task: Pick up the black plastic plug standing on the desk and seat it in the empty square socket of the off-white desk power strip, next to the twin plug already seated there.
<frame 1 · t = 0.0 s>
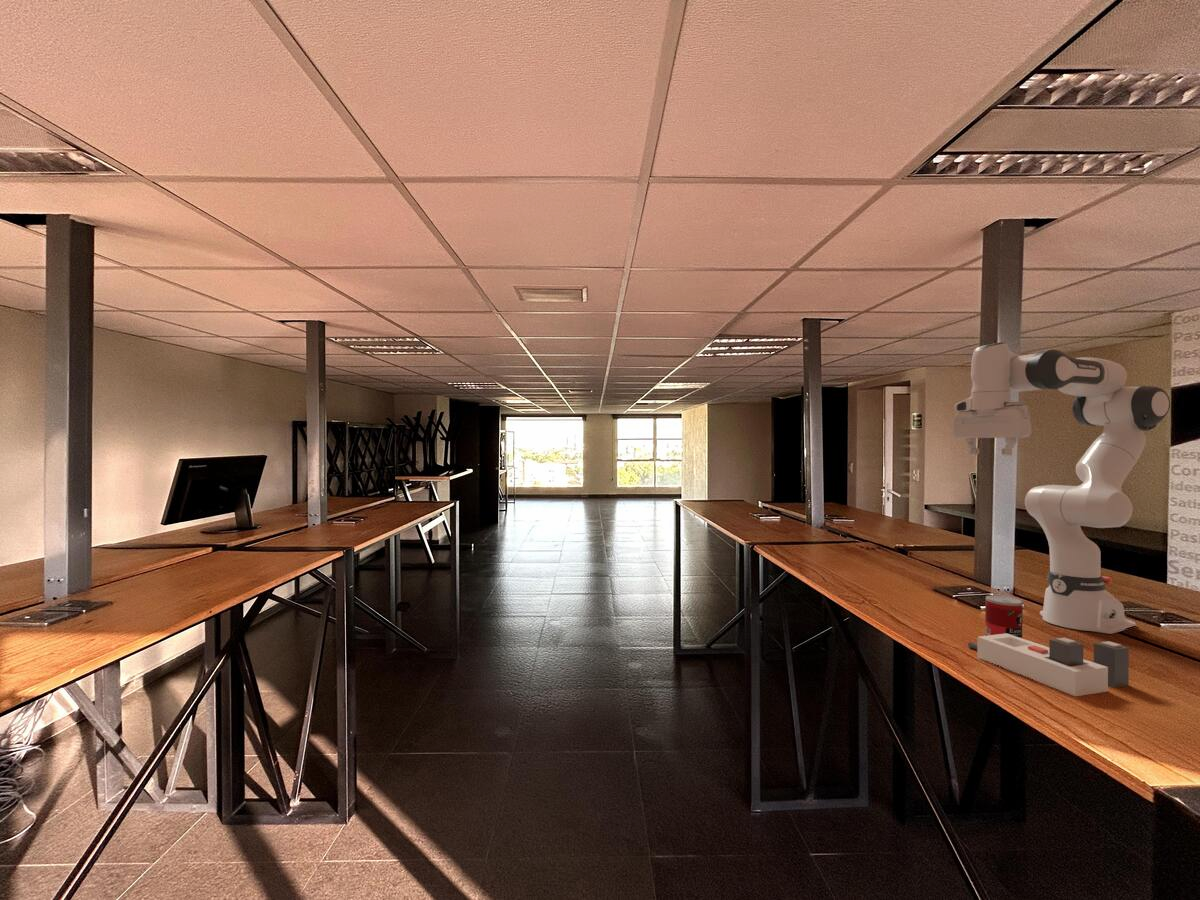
hand: (990, 455, 154), 48 cm above the table, fingers open, 8 cm apart
pdu strip: (1037, 673, 128), on the table
plug: (1110, 682, 123), on the table
canned food: (1003, 642, 148), on the table
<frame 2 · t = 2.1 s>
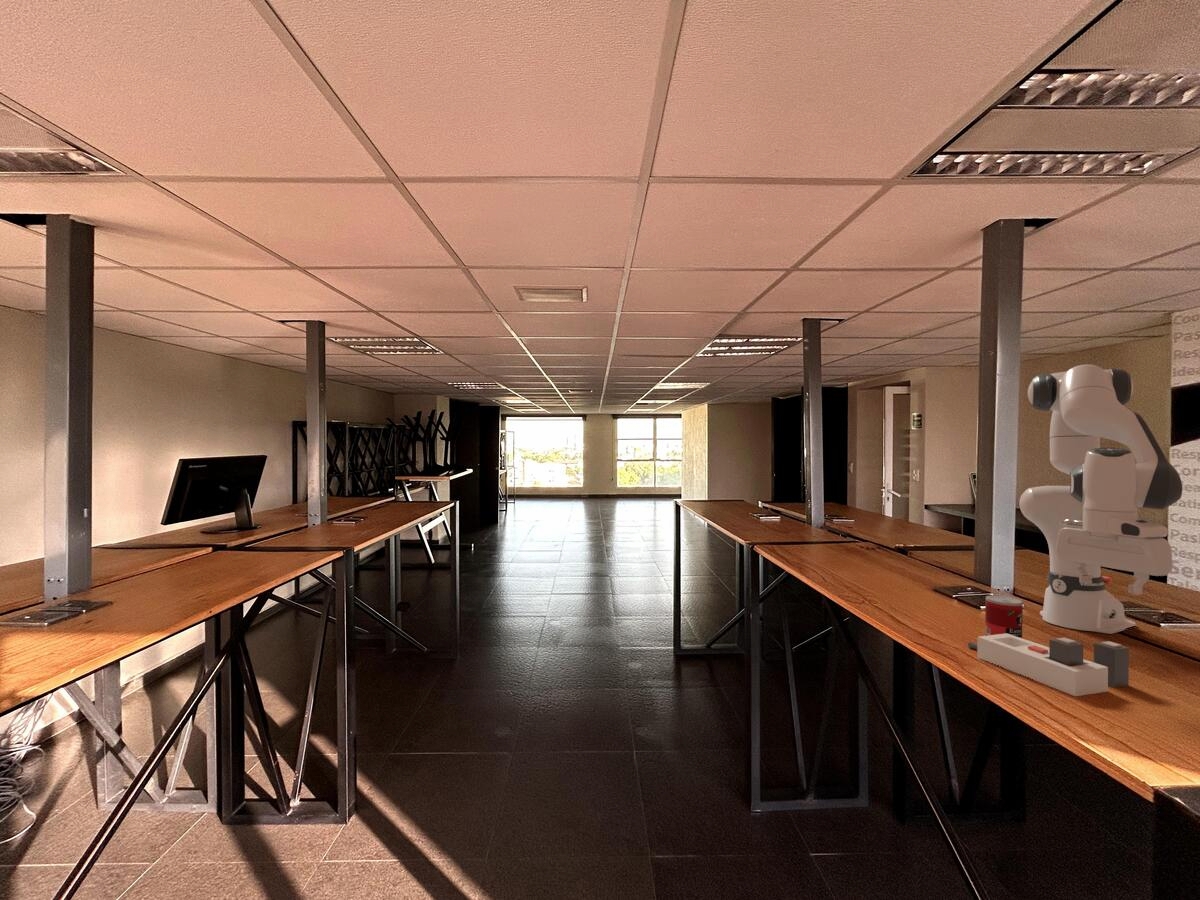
hand: (1109, 588, 123), 20 cm above the table, fingers open, 8 cm apart
nothing on the table moved.
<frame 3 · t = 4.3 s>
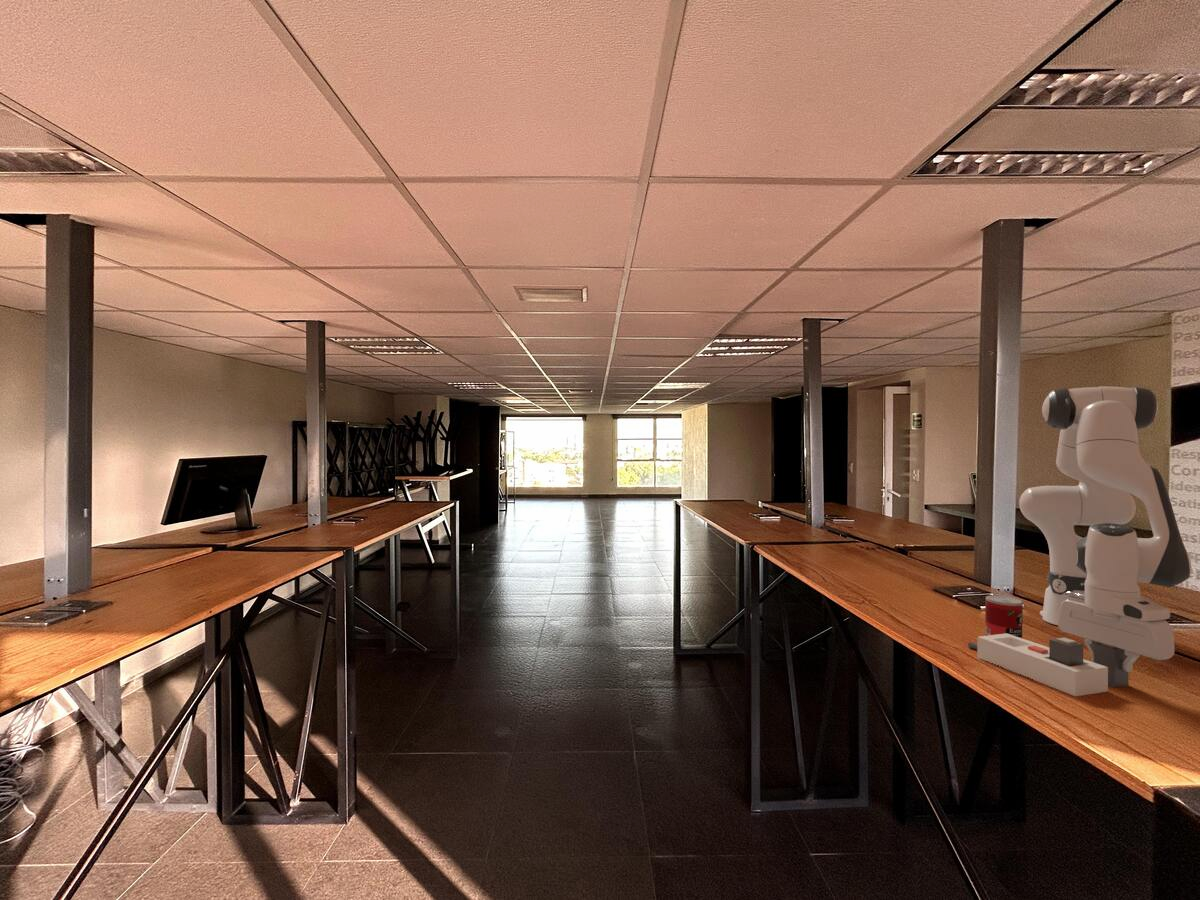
hand: (1111, 665, 123), 4 cm above the table, fingers closed on plug, 4 cm apart
plug: (1110, 682, 123), on the table, touching gripper
everything else where it was.
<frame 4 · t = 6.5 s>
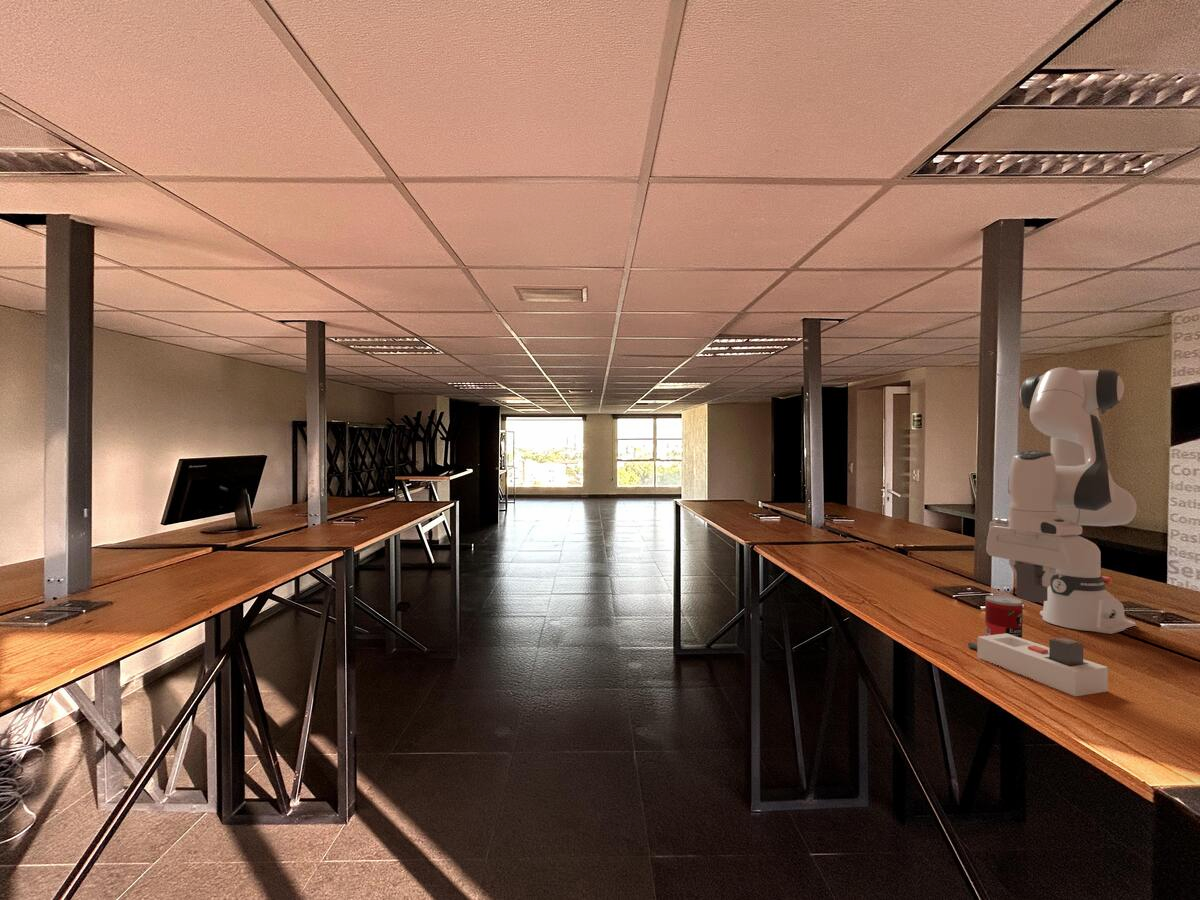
hand: (1031, 583, 131), 19 cm above the table, fingers closed on plug, 4 cm apart
plug: (1031, 599, 131), point 16 cm above the table, touching gripper
everything else where it was.
when the fingers open (6 cm above the table, at t = 9.0 s): plug stays where it is, resting on pdu strip.
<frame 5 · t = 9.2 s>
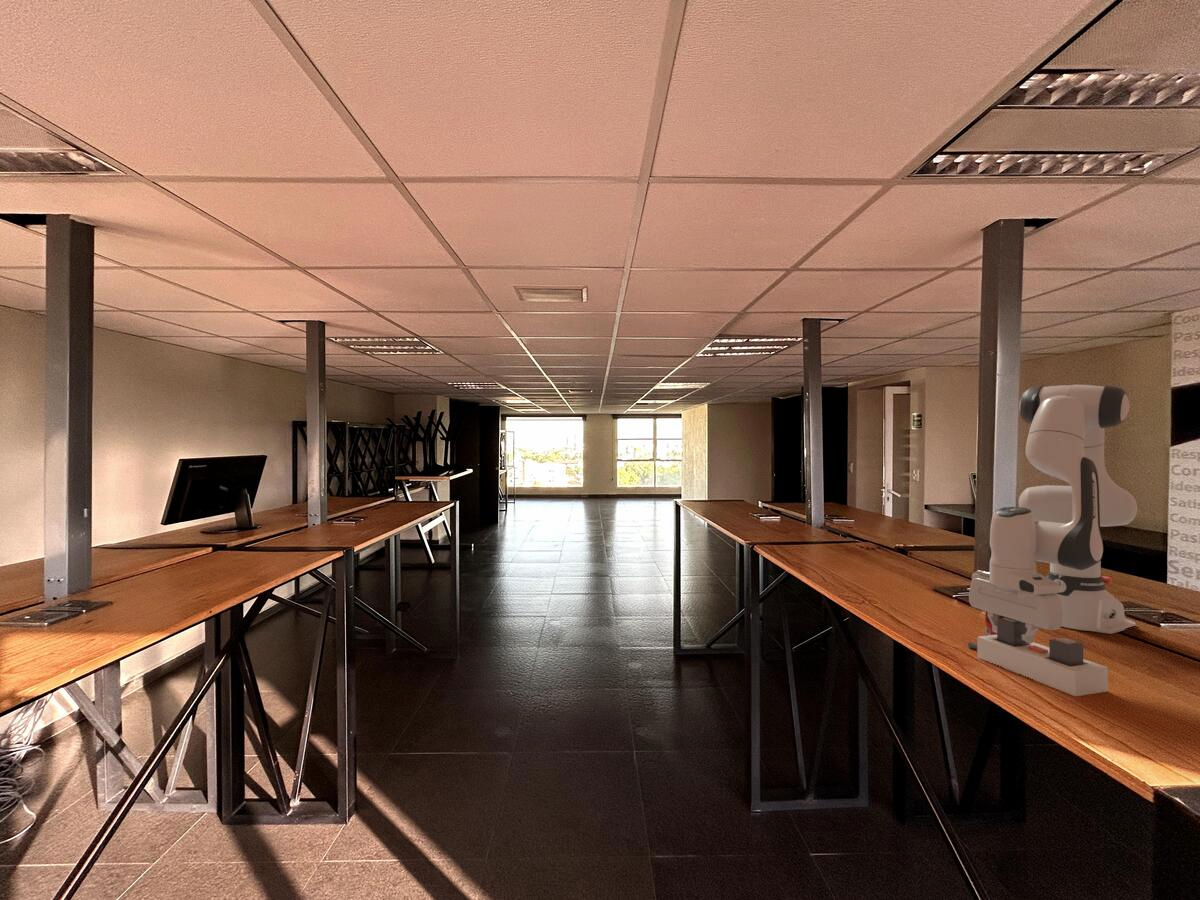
hand: (1012, 637, 133), 6 cm above the table, fingers open, 6 cm apart
plug: (1011, 654, 134), point 2 cm above the table, touching pdu strip
everything else where it was.
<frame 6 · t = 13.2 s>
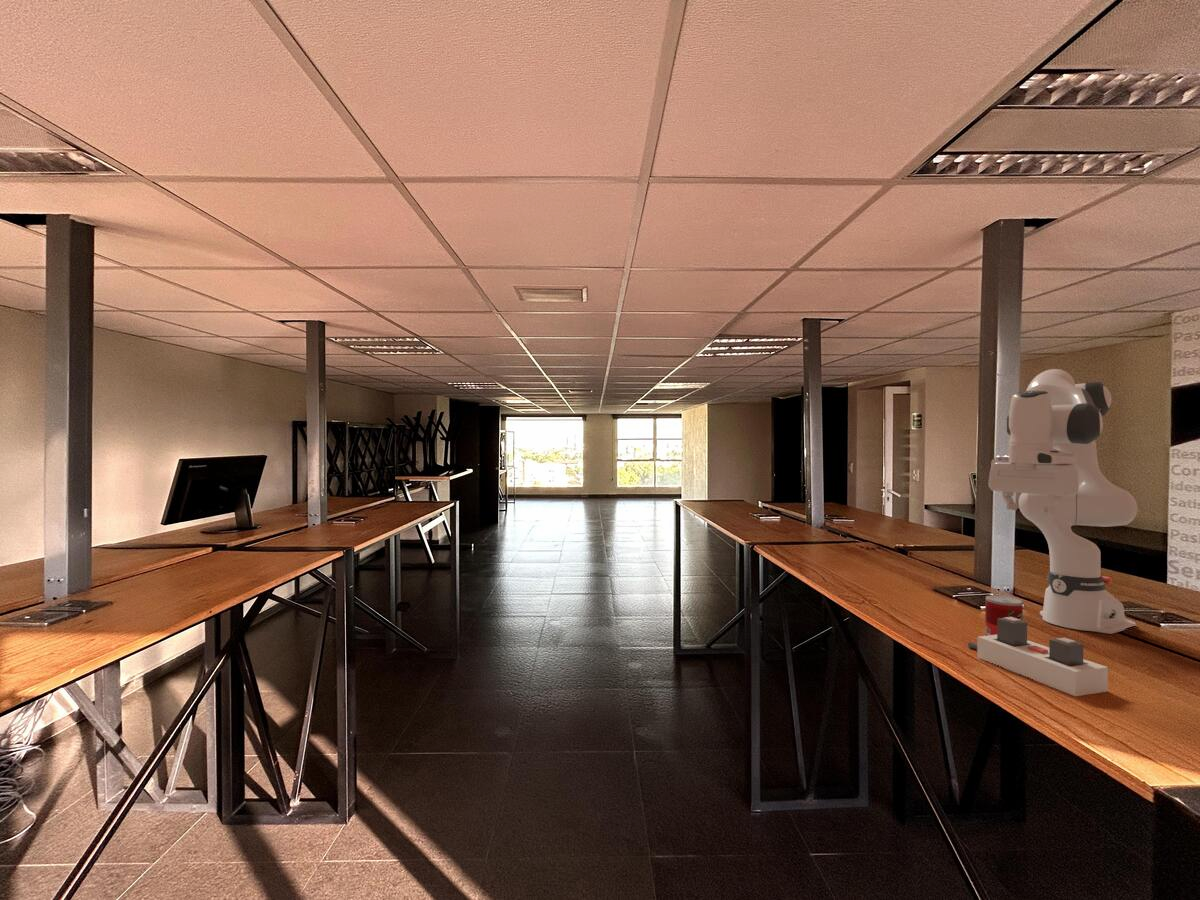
hand: (1030, 511, 142), 34 cm above the table, fingers open, 8 cm apart
nothing on the table moved.
at the end: plug 0.0 cm from the target spot on the pdu strip, point 2.0 cm above the pdu strip's base; plug tilted 0°; the gripper is holding nothing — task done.
